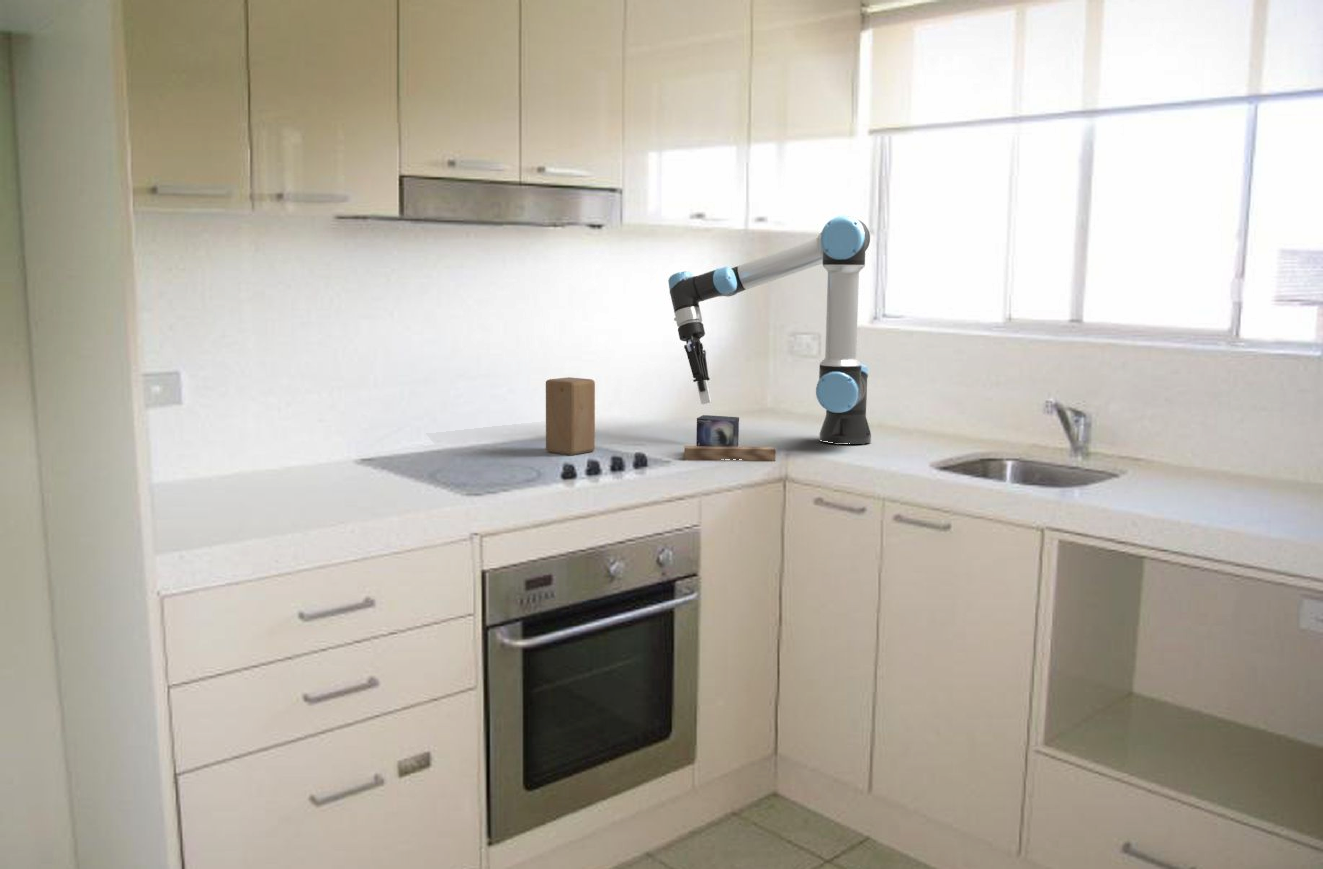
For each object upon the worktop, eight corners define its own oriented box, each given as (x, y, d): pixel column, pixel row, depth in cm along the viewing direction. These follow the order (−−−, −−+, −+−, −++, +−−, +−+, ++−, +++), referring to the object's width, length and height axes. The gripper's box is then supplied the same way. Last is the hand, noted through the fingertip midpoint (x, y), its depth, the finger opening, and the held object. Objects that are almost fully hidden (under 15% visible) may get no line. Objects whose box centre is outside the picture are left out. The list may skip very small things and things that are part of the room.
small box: (694, 456, 298) (695, 417, 297) (701, 452, 304) (702, 414, 303) (732, 458, 295) (733, 419, 293) (739, 454, 301) (739, 416, 299)
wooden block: (571, 456, 295) (571, 381, 292) (544, 452, 301) (544, 379, 298) (596, 451, 303) (596, 379, 300) (569, 448, 309) (568, 376, 306)
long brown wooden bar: (774, 460, 295) (774, 447, 295) (775, 462, 291) (775, 449, 291) (684, 458, 295) (684, 445, 295) (684, 461, 291) (684, 448, 291)
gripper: (685, 332, 328) (701, 409, 324) (670, 324, 315) (686, 403, 311) (708, 325, 325) (725, 402, 321) (694, 316, 313) (711, 396, 309)
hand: (706, 402), depth 316 cm, fingers closed
